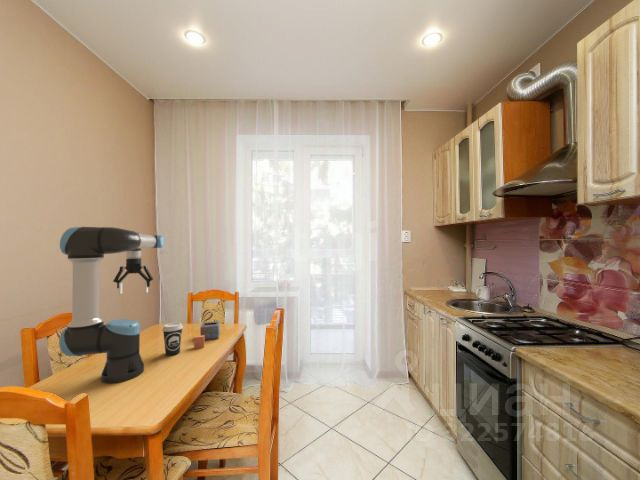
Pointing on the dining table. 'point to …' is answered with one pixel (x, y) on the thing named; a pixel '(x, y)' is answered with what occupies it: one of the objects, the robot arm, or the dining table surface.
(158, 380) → the dining table surface
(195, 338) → the salmon pink eraser
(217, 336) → the coin box
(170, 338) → the coffee cup
